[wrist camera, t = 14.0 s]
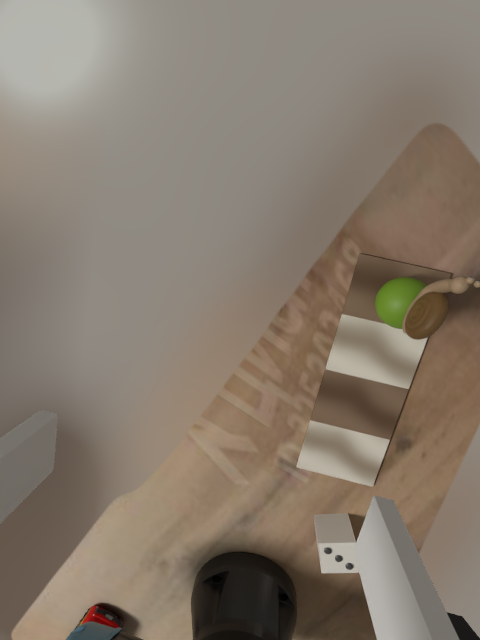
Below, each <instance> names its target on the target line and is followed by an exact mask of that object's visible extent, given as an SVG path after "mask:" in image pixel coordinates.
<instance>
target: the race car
mask: <svg viewBox="0 0 480 640" xmlns="http://www.w3.org/2000/svg"><path fill="white" fill-rule="evenodd" d="M86 622H96V623H100V624H103V625H106V626H109V627H112V628H115V629H116V628H118V627H120V628H122V627H123V621H122V620H120V617H119V618H118V616H117V617H116V615H114V614H112V613H111V612H109V611H107V610H105V609H104V608H102V607H99V606H93V607H91V608H89V609H88V611H87V612H86V613H85V615H84V617H83V619H81V621H80V622H79V624H78V625H77V626H76V628H77V627H78V626H80V625H81V624H84V623H86ZM76 628H75V629H76ZM75 629H74V630H75Z"/></svg>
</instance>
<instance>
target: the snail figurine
mask: <svg viewBox="0 0 480 640" xmlns="http://www.w3.org/2000/svg"><path fill="white" fill-rule="evenodd" d="M472 283H474V286H475V287H477V288H479V287H480V281H475V282H474V279H473V278H472V277H468V278H466V277H455V278H454V279H444V280H440V281H436V282H434V283H431V284H429V285H428V286H426V285H425V284H424V283H423V282H421V281H419V280H417V279H415V278H411V277H399V278H395V279H392V280H390V281H388V282H387V283H386V284H384V285H383V286H382V287H381V288H380V290H379V291H378V293H377V296H376V299H375V308H376V312H377V314H378V316H379V317H380V319H381V320H382V321H383V322H384V323H386V324H387V325H389V326H391V327H393V328H397V329H403V332H404V333H407V335H408V336H409V337H410V338H412V339H416V340H420V339H425V338H427V337H429V336H430V335H432V334H433V333H434V332H435V331H436V330H437V329H438V328H439V327H440V326H441V325H442V323H443V321H444V320H445V318H446V315H447V313H448V308H449V303H448V300H447V298H446V296H445V295H443V293H448V292H453V293H455V294H460V293H463V292H465V291H466V290H467V289H468V288H469V284H472Z"/></svg>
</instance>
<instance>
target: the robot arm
mask: <svg viewBox="0 0 480 640" xmlns="http://www.w3.org/2000/svg"><path fill="white" fill-rule="evenodd" d="M57 423H58V414H55V413H51V412H48V411H44V410H40V411H38V412H37V413H36V414H34V415H33V416H31V417H30V418H28V419H27V420H26V421H24V422H23V423H21V424H20V425H18V426H17V427H15V428H14V429H13V430H11V431H10V432H8V433H7V434H6V435H4V436H3V437H1V438H0V524H1V523H2V522H3V521H4V520H5V519H6V518H7V517H8V516H9V515H10V514H11V513H12V511H13V510H15V509H16V508H17V506H18V505H20V504H21V502H22V501H23V500H24V499H25V498H26V497H27V496H28V495H29V494H30V493H31V492H32V491H33V490H34V489H35V488H36V487H37V486H38V485H39V484H40V483H41V482H42V481H43V480H44V479H45V478H46V477H47V476H48V475H49V474H50V473H51V472H52V471H53V467H54V457H55V446H56V435H57ZM353 551H354V555H355V558H356V562H357V566H358V570H359V574H360V577H361V581H362V585H363V589H364V593H365V596H366V600H367V604H368V608H369V611H370V615H371V619H372V623H373V627H374V630H375V634H376V638H377V640H480V638H479V637H478V636H477V635H476V633H475V632H474V631H473V630H472V628H471V627H470V626H469V625H468V623H467V622H466V621H465V620H464V618H463V617H462V616H458V615H455V614H451V613H447V612H446V611H445V608H444V606H443V604H442V602H441V600H440V598H439V596H438V593H437V591H436V589H435V587H434V585H433V583H432V581H431V579H430V577H429V575H428V573H427V570H426V568H425V566H424V564H423V562H422V560H421V558H420V556H419V553H418V551H417V549H416V547H415V545H414V543H413V541H412V539H411V537H410V534H409V532H408V530H407V528H406V526H405V524H404V522H403V520H402V518H401V516H400V513H399V511H398V509H397V507H396V505H395V503H394V501H393V500H390V499H387V498H383V497H379V496H375V495H374V496H373V499H372V501H371V504H370V507H369V510H368V512H367V515H366V518H365V520H364V523H363V526H362V528H361V531H360V534H359V536H358V539H357V542H356V544H355V547H354V550H353ZM191 613H192V630H193V640H292V636H293V632H294V628H295V623H296V617H297V605H296V593H295V589H294V586H293V583H292V581H291V580H290V578H289V577H288V575H287V574H286V573H285V572H284V571H283V570H282V569H281V568H280V567H279V566H278V565H276V564H275V563H273V562H272V561H270V560H268V559H266V558H264V557H261V556H258V555H254V554H250V553H228V554H223V555H220V556H217V557H215V558H213V559H211V560H210V561H208V562H207V563H206V564H205V565H204V566H203V567H202V568H201V569H200V571H199V572H198V574H197V576H196V579H195V583H194V587H193V592H192V597H191ZM66 640H143V639H140V638H138V637H135V636H133V635H130V634H128V633H126V632H123V629H122V628H120V627H118V628H116V629H115V628H112V627H109V626H106V625H103V624H100V623H96V622H86V623H84V624H81V625H80V626H78V627H77V628H76V629H75V630H74V631H73V632H72V633H71V634H70V635H69V636H68V637H67V639H66Z"/></svg>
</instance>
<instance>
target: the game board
mask: <svg viewBox="0 0 480 640" xmlns="http://www.w3.org/2000/svg"><path fill="white" fill-rule="evenodd" d="M450 276H451V273H446V272H442V271H437V270H433V269H428V268H424V267H419V266H414V265H410V264H405V263H401V262H396V261H392V260H387V259H383V258H378V257H374V256H369V255H364V254H360V255H359V258H358V261H357V265H356V268H355V272H354V275H353V278H352V282H351V285H350V288H349V292H348V295H347V298H346V302H345V305H344V308H343V312H342V315H341V319H340V322H339V325H338V329H337V332H336V335H335V339H334V342H333V345H332V349H331V352H330V355H329V359H328V362H327V365H326V369H325V372H324V376H323V379H322V382H321V386H320V389H319V392H318V396H317V399H316V402H315V406H314V409H313V412H312V416H311V419H310V423H309V426H308V429H307V433H306V436H305V439H304V443H303V446H302V449H301V453H300V456H299V459H298V463H297V468H301V469H305V470H309V471H313V472H317V473H321V474H325V475H329V476H333V477H337V478H340V479H344V480H348V481H352V482H356V483H360V484H364V485H368V486H372V487H373V485H374V482H375V479H376V477H377V474H378V471H379V468H380V466H381V463H382V460H383V458H384V455H385V452H386V450H387V447H388V444H389V441H390V439H391V436H392V433H393V431H394V428H395V425H396V422H397V420H398V417H399V414H400V412H401V409H402V406H403V404H404V401H405V398H406V395H407V393H408V390H409V387H410V385H411V382H412V379H413V377H414V374H415V371H416V368H417V366H418V363H419V360H420V358H421V355H422V352H423V349H424V347H425V344H426V341H427V339H428V337H427V338H425V339H420V340H416V339H412V338H410V337H409V336H408V335H407V333H404V332H403V329H397V328H393V327H391V326H389V325H387V324H386V323H384V322H383V321H382V320H381V319H380V317H379V316H378V314H377V312H376V308H375V299H376V296H377V293H378V291H379V290H380V288H381V287H382V286H383V285H384V284H386V283H387V282H388V281H390V280H392V279H395V278H399V277H411V278H415V279H417V280H419V281H421V282H423V283H424V284H425V285H426V286H428V285H429V284H431V283H434V282H436V281H440V280H444V279H450ZM443 295H444V293H443Z"/></svg>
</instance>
